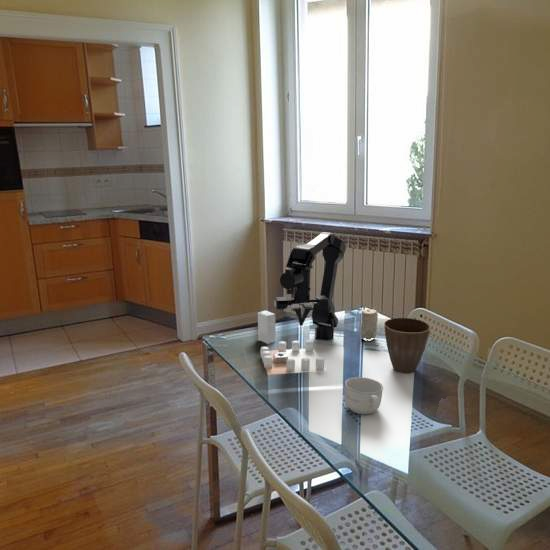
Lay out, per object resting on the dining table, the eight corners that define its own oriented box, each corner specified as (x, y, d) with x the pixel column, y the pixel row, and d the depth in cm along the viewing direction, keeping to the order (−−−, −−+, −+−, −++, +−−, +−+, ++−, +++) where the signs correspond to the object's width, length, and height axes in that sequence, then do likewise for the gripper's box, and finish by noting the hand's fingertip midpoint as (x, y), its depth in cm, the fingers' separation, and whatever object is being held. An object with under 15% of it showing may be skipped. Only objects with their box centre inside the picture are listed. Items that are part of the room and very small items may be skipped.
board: (313, 350, 191) (313, 339, 189) (327, 373, 171) (327, 361, 170) (258, 353, 187) (258, 341, 186) (266, 377, 168) (266, 364, 167)
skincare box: (276, 343, 197) (276, 313, 194) (267, 346, 194) (267, 316, 191) (266, 339, 201) (266, 309, 198) (257, 341, 199) (257, 311, 196)
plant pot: (394, 380, 167) (397, 334, 163) (373, 362, 181) (376, 319, 177) (435, 375, 171) (439, 330, 167) (411, 358, 185) (415, 316, 181)
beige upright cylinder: (357, 341, 200) (359, 312, 197) (362, 335, 207) (363, 306, 204) (373, 344, 197) (375, 314, 194) (377, 337, 204) (379, 308, 201)
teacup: (340, 400, 153) (341, 376, 151) (375, 399, 154) (377, 375, 152) (350, 425, 140) (352, 398, 138) (389, 424, 141) (391, 397, 139)
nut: (285, 358, 181) (285, 351, 180) (287, 363, 177) (288, 356, 176) (273, 359, 180) (273, 352, 180) (275, 364, 176) (275, 357, 175)
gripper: (322, 276, 187) (320, 316, 191) (271, 277, 184) (271, 319, 188) (330, 284, 177) (328, 327, 180) (276, 286, 174) (276, 329, 177)
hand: (300, 325), depth 182 cm, fingers closed
